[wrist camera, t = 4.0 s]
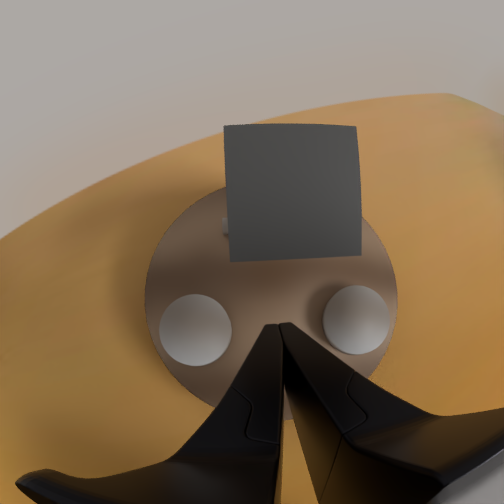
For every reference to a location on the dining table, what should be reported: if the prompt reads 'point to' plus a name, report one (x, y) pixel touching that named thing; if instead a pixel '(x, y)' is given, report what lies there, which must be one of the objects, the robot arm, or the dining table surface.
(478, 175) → the dining table surface
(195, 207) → the stool seat
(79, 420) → the dining table surface
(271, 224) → the folding leg
